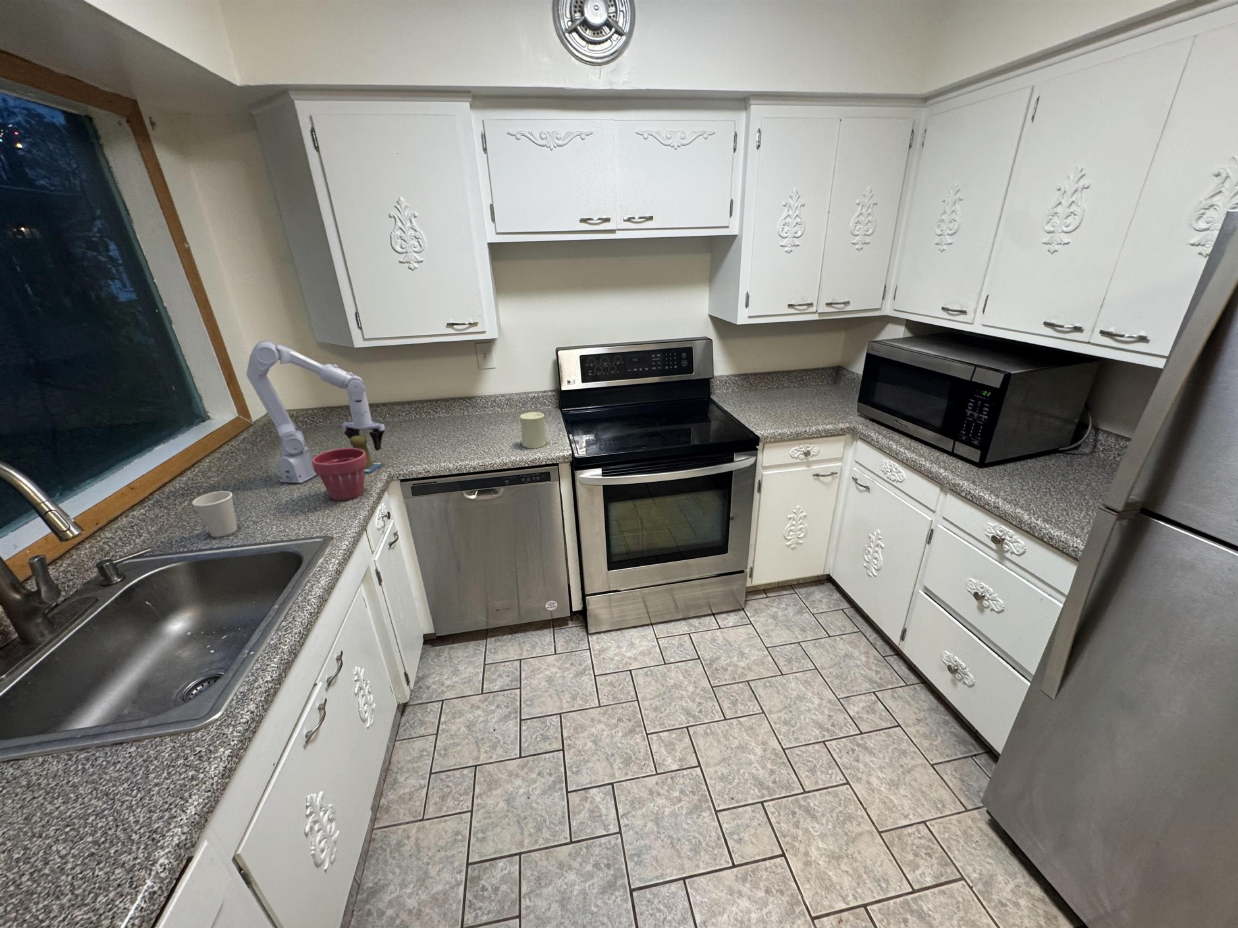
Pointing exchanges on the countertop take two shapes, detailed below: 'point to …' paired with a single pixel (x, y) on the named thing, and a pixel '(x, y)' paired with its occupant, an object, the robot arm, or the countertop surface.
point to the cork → (361, 447)
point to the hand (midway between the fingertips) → (368, 449)
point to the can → (533, 430)
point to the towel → (373, 467)
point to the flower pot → (341, 472)
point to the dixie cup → (217, 512)
